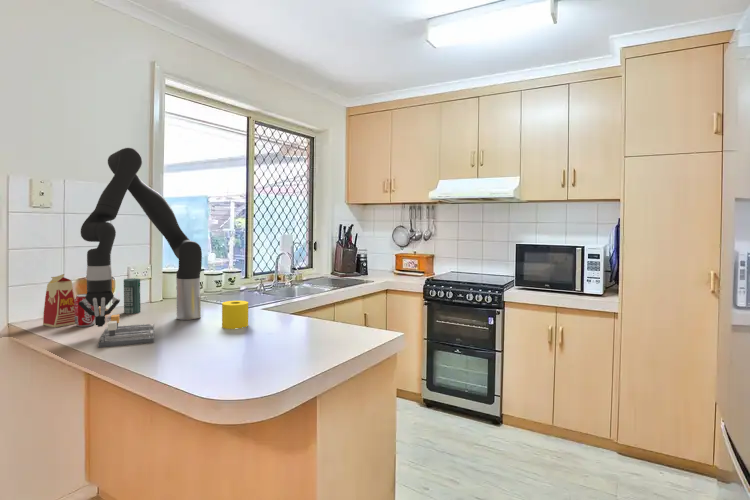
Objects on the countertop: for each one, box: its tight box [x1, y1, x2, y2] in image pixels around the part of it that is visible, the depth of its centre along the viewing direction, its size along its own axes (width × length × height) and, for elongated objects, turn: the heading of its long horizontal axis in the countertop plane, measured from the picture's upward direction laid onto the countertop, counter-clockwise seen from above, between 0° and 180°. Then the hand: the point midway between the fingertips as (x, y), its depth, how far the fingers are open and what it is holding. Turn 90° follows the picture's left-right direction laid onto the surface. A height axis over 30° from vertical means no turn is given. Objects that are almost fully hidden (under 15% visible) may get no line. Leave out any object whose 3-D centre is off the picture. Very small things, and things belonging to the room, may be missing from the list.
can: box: [123, 277, 141, 315], centre depth 193 cm, size 6×6×15 cm
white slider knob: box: [107, 320, 117, 336], centre depth 147 cm, size 2×4×5 cm, turn 27°
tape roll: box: [221, 300, 249, 330], centre depth 173 cm, size 10×10×9 cm
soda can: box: [74, 293, 96, 328], centre depth 169 cm, size 7×7×12 cm
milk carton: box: [42, 273, 76, 328], centre depth 170 cm, size 9×9×20 cm
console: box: [98, 323, 155, 349], centre depth 154 cm, size 16×22×2 cm
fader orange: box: [110, 314, 121, 328], centre depth 156 cm, size 2×4×5 cm, turn 27°
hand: (100, 326), depth 155 cm, fingers closed
